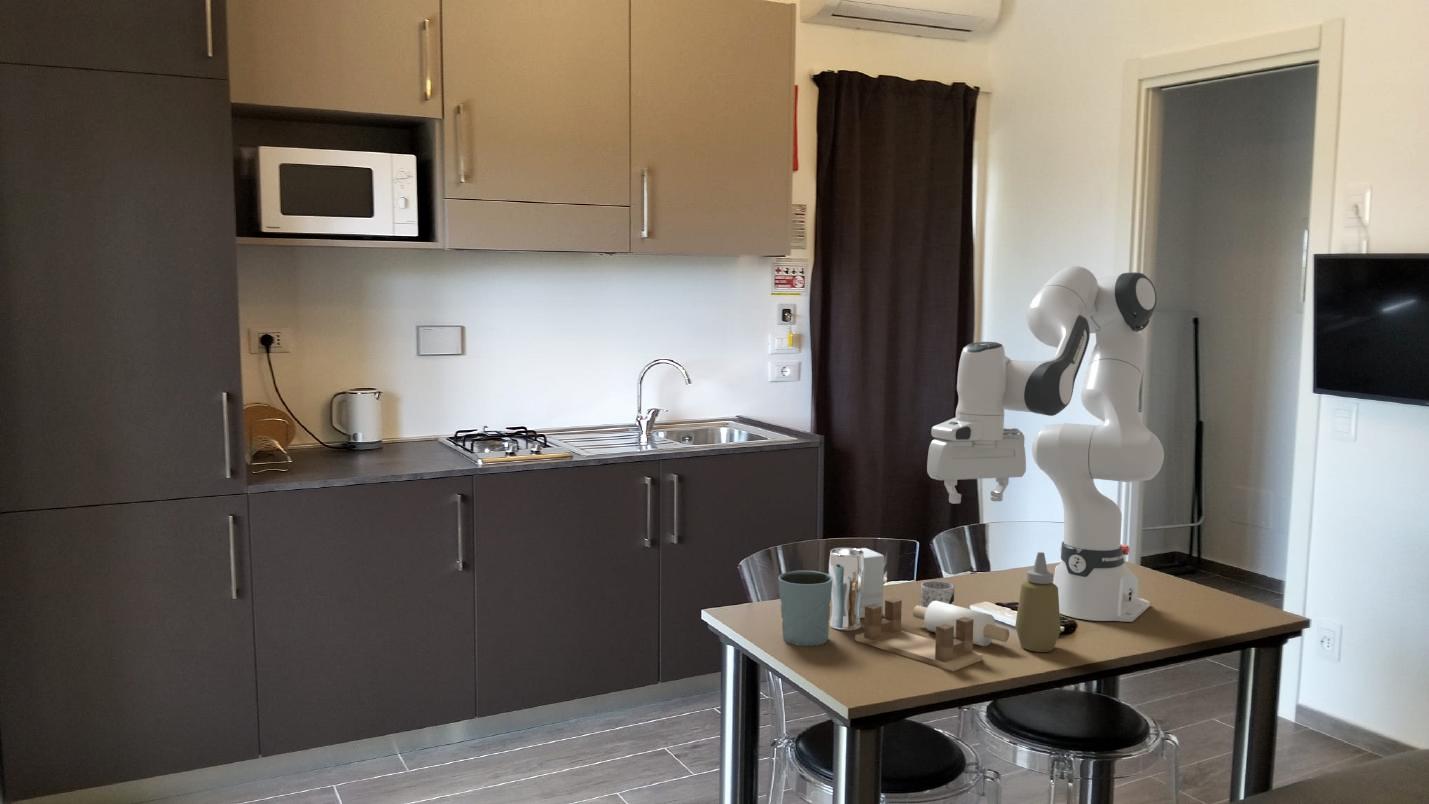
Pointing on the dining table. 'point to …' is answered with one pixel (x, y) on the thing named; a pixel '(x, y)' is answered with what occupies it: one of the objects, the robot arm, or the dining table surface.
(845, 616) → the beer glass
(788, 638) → the embossed teal cup
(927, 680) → the dining table surface
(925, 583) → the mug
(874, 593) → the supplement box
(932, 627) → the paper roll
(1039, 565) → the squeeze bottle
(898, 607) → the roll holder
